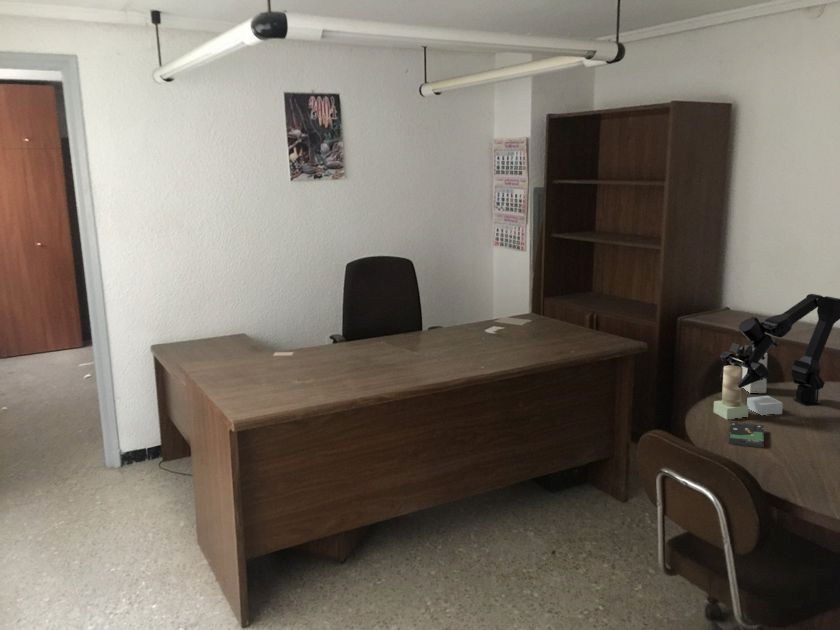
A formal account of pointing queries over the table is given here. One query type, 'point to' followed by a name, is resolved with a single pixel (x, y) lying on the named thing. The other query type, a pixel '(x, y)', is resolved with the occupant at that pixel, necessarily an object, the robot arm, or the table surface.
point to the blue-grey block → (765, 405)
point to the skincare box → (758, 385)
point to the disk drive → (746, 434)
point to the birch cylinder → (732, 386)
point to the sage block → (730, 410)
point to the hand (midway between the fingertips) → (729, 383)
